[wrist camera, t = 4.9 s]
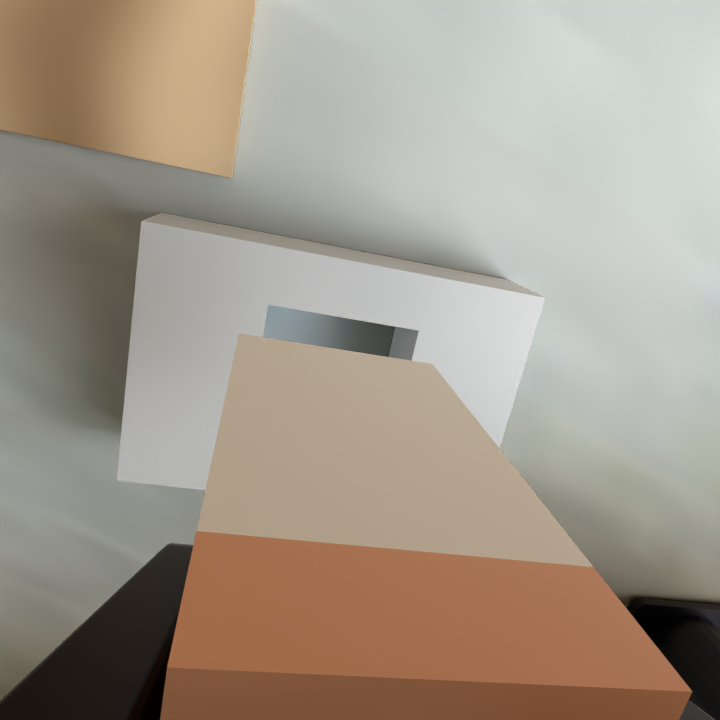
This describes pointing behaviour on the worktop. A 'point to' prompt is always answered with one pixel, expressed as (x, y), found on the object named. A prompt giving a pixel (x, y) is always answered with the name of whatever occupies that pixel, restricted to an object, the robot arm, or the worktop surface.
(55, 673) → the robot arm
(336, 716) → the plug
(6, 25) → the mat
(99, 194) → the worktop surface
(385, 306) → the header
